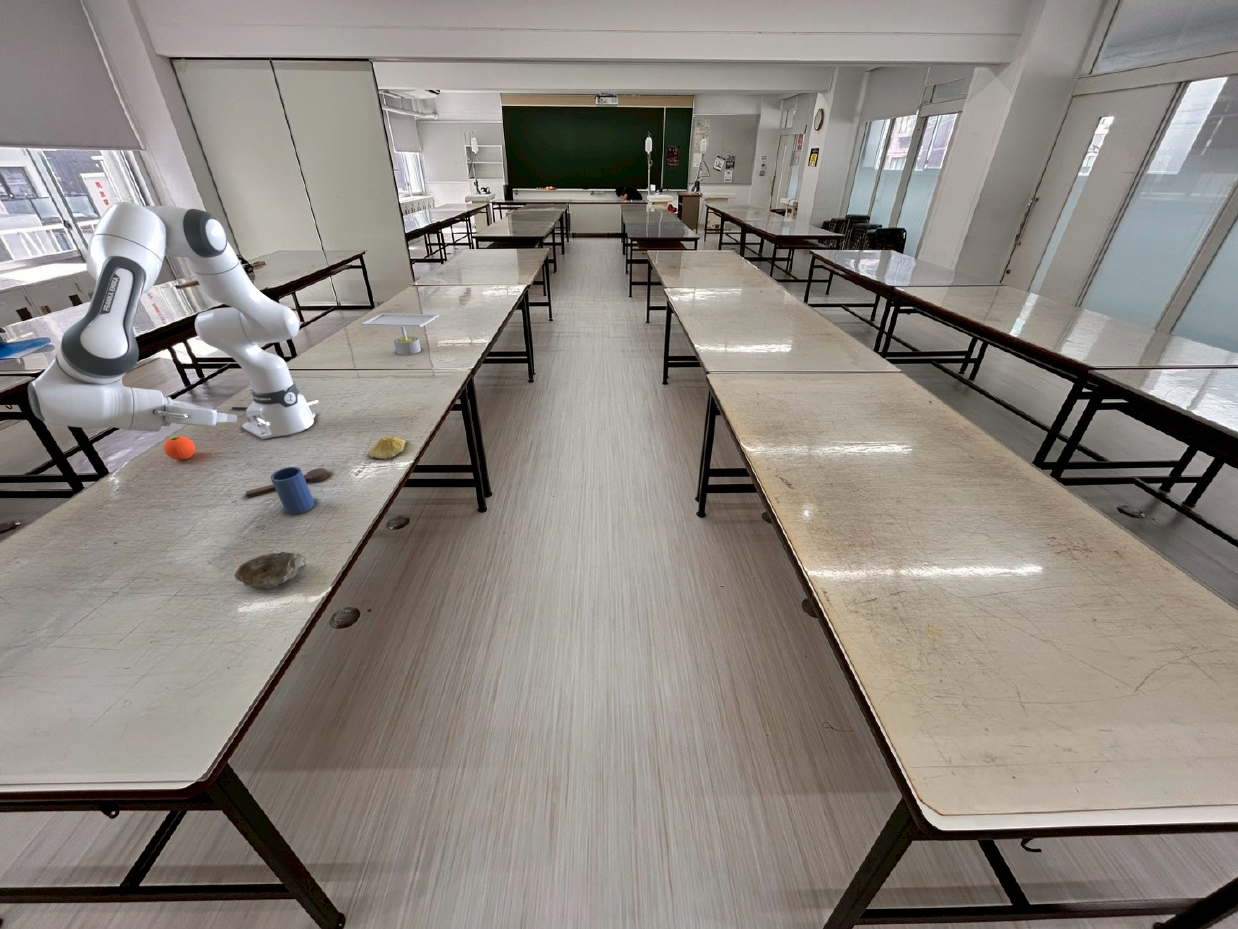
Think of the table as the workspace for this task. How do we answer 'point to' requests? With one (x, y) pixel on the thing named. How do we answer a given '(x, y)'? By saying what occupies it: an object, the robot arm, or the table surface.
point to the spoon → (311, 476)
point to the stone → (271, 569)
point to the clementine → (179, 447)
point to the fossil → (387, 448)
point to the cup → (292, 490)
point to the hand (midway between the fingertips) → (228, 416)
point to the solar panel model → (402, 320)
